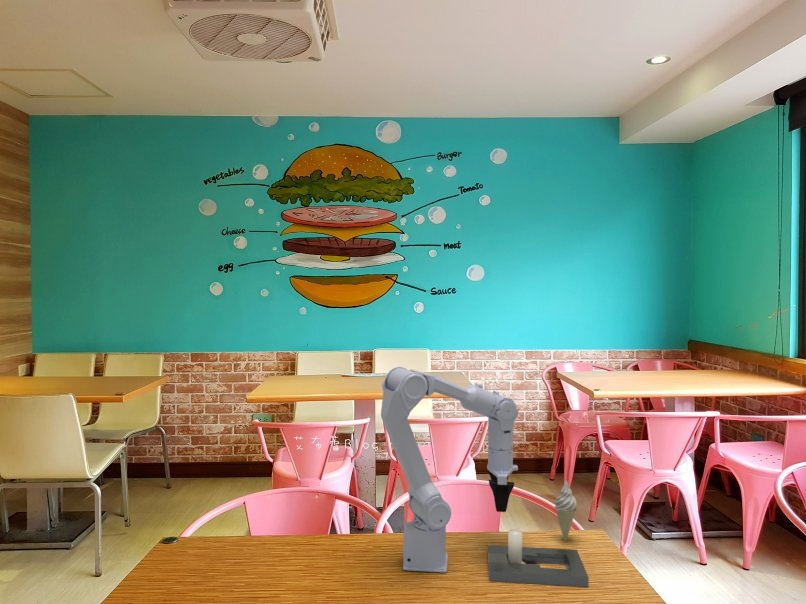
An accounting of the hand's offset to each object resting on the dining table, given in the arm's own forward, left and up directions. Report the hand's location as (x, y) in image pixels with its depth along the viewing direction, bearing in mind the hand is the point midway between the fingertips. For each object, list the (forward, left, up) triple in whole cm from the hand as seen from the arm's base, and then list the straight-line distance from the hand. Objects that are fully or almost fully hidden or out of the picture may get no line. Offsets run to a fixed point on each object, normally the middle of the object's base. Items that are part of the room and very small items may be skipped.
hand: (500, 504), depth 130 cm
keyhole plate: (+7, -9, -10) cm, 15 cm away
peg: (+3, -9, -10) cm, 14 cm away
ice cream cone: (+16, +6, -11) cm, 20 cm away
